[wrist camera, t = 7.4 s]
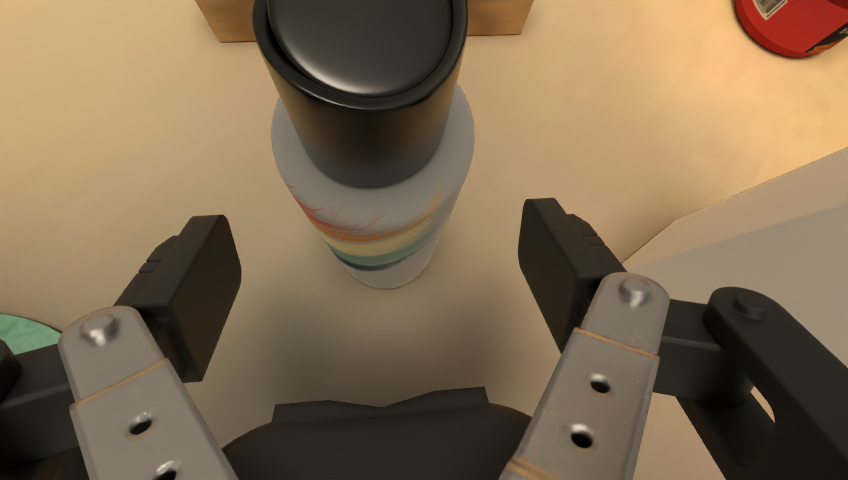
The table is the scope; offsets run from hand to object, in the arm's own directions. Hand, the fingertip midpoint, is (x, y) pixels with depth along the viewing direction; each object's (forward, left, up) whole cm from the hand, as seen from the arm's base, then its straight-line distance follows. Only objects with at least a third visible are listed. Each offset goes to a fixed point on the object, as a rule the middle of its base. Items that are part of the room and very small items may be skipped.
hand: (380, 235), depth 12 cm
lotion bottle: (-1, +3, -15) cm, 15 cm away
